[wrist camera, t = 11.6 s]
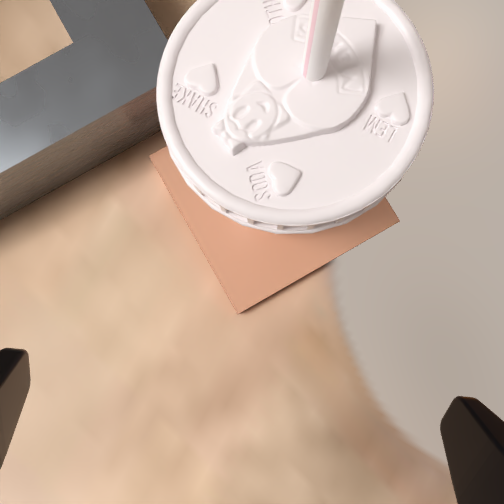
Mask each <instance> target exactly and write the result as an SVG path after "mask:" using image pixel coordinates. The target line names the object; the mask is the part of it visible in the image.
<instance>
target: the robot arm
mask: <svg viewBox="0 0 504 504" xmlns="http://www.w3.org/2000/svg"><path fill="white" fill-rule="evenodd" d="M29 387H30V367H29V356H28V353H27V351H26V350H24V349H14V348H4V349H2V350H0V469H1V467H2V464H3V461H4V459H5V456H6V454H7V451H8V448H9V445H10V442H11V439H12V437H13V434H14V431H15V428H16V425H17V422H18V420H19V417H20V414H21V411H22V408H23V406H24V403H25V400H26V397H27V394H28V391H29ZM440 430H441V435H442V440H443V444H444V448H445V453H446V457H447V461H448V466H449V470H450V474H451V479H452V483H453V487H454V491H455V495H456V499H457V502H458V504H504V421H502V420H501V419H500V418H499V417H498V416H497V415H495V414H494V413H493V412H492V411H491V410H490V409H488V408H487V407H486V406H485V405H484V404H482V403H481V402H480V401H479V400H477V399H475V398H472V397H463V396H458V397H456V398H455V399H454V400H453V401H452V403H451V405H450V407H449V408H448V410H447V411H446V413H445V415H444V417H443V418H442V420H441V425H440Z"/></svg>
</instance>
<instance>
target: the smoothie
mask: <svg viewBox="0 0 504 504" xmlns="http://www.w3.org/2000/svg"><path fill="white" fill-rule="evenodd" d="M433 100H434V86H433V76H432V70H431V65H430V61H429V57H428V54H427V51H426V48H425V46H424V43H423V41H422V39H421V37H420V35H419V33H418V31H417V29H416V27H415V26H414V24H413V23H412V21H411V20H410V18H409V17H408V16H407V14H406V13H405V12H404V11H403V10H402V8H401V7H400V6H399V5H398V4H397V3H396V2H395V1H394V0H197V1H196V2H195V3H194V4H193V5H192V6H191V7H190V8H189V9H188V11H187V12H186V13H185V14H184V15H183V17H182V18H181V20H180V21H179V23H178V24H177V25H176V27H175V29H174V30H173V32H172V34H171V36H170V38H169V40H168V42H167V45H166V47H165V49H164V52H163V55H162V59H161V62H160V66H159V71H158V77H157V87H156V101H157V111H158V117H159V122H160V126H161V130H162V133H163V136H164V139H165V141H166V144H167V146H168V149H169V153H170V156H171V158H172V160H173V162H174V163H175V165H176V167H177V168H178V170H179V172H180V173H181V175H182V177H183V178H184V180H185V182H186V184H187V185H188V186H189V187H190V188H191V189H192V190H193V191H194V192H195V193H196V194H197V195H198V196H199V197H200V198H201V199H202V200H203V201H204V202H205V203H207V204H208V205H209V206H210V207H211V208H212V209H213V210H215V211H217V212H219V213H221V214H222V215H224V216H226V217H228V218H230V219H231V220H233V221H235V222H237V223H239V224H241V225H242V226H246V227H250V228H254V229H258V230H262V231H267V232H271V233H275V234H307V233H315V232H319V231H322V230H326V229H329V228H333V227H336V226H340V225H344V224H347V223H348V222H350V221H352V220H353V219H355V218H357V217H358V216H360V215H362V214H363V213H365V212H367V211H368V210H370V209H372V208H373V207H375V206H377V205H378V204H379V203H380V201H381V200H382V199H383V198H384V197H385V196H386V195H387V194H388V193H389V192H390V191H391V190H392V189H393V188H394V187H395V186H396V185H397V184H398V183H399V182H400V181H401V179H402V177H403V175H404V174H405V173H406V171H407V170H408V169H409V167H410V166H411V165H412V163H413V162H414V160H415V158H416V157H417V155H418V153H419V151H420V149H421V147H422V145H423V143H424V141H425V138H426V135H427V132H428V129H429V124H430V121H431V117H432V109H433Z"/></svg>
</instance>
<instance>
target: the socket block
mask: <svg viewBox="0 0 504 504" xmlns="http://www.w3.org/2000/svg"><path fill="white" fill-rule="evenodd" d="M50 1H51V3H52V5H53V7H54V9H55V10H56V12H57V14H58V16H59V18H60V19H61V21H62V23H63V25H64V27H65V28H66V30H67V32H68V34H69V35H70V37H71V39H72V41H73V43H72V44H71V45H69V46H67V47H65V48H63V49H62V50H60V51H58V52H56V53H54V54H52V55H51V56H49V57H47V58H45V59H43V60H41V61H40V62H38V63H36V64H34V65H32V66H31V67H29V68H27V69H25V70H23V71H21V72H20V73H18V74H16V75H14V76H12V77H11V78H9V79H7V80H5V81H3V82H1V83H0V220H1V219H3V218H4V217H6V216H8V215H10V214H12V213H13V212H15V211H17V210H19V209H20V208H22V207H24V206H26V205H28V204H29V203H31V202H33V201H35V200H37V199H38V198H40V197H42V196H44V195H46V194H47V193H49V192H51V191H53V190H54V189H56V188H58V187H60V186H62V185H63V184H65V183H67V182H69V181H71V180H72V179H74V178H76V177H78V176H80V175H81V174H83V173H85V172H87V171H88V170H90V169H92V168H94V167H96V166H97V165H99V164H101V163H103V162H105V161H106V160H108V159H110V158H112V157H114V156H115V155H117V154H119V153H121V152H123V151H124V150H126V149H128V148H130V147H131V146H133V145H135V144H137V143H139V142H140V141H142V140H144V139H146V138H148V137H149V136H151V135H153V134H155V133H157V132H158V131H160V130H161V126H160V122H159V117H158V111H157V101H156V87H157V77H158V71H159V66H160V62H161V59H162V55H163V52H164V49H165V47H166V45H167V42H168V40H167V38H166V37H165V35H164V33H163V32H162V30H161V28H160V27H159V25H158V23H157V21H156V20H155V18H154V16H153V15H152V13H151V11H150V9H149V8H148V6H147V4H146V3H145V1H144V0H50Z"/></svg>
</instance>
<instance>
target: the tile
mask: <svg viewBox="0 0 504 504" xmlns="http://www.w3.org/2000/svg"><path fill="white" fill-rule="evenodd" d="M149 157H150V159H151V161H152V162H153V164H154V166H155V168H156V169H157V171H158V173H159V175H160V177H161V178H162V180H163V182H164V184H165V186H166V187H167V189H168V191H169V193H170V194H171V196H172V198H173V200H174V202H175V203H176V205H177V207H178V209H179V210H180V212H181V214H182V216H183V218H184V219H185V221H186V223H187V225H188V227H189V228H190V230H191V232H192V234H193V235H194V237H195V239H196V241H197V243H198V244H199V246H200V248H201V250H202V251H203V253H204V255H205V257H206V259H207V260H208V262H209V264H210V266H211V268H212V269H213V271H214V273H215V275H216V276H217V278H218V280H219V282H220V284H221V285H222V287H223V289H224V291H225V292H226V294H227V296H228V298H229V300H230V301H231V303H232V305H233V307H234V309H235V310H236V312H237V314H239V313H241V312H243V311H244V310H246V309H248V308H250V307H251V306H253V305H255V304H257V303H258V302H260V301H262V300H264V299H265V298H267V297H269V296H270V295H272V294H274V293H276V292H277V291H279V290H281V289H283V288H284V287H286V286H288V285H290V284H291V283H293V282H295V281H297V280H298V279H300V278H302V277H304V276H305V275H307V274H309V273H311V272H312V271H314V270H316V269H317V268H319V267H321V266H323V265H324V264H326V263H328V262H330V261H331V260H333V259H335V258H337V257H338V256H340V255H342V254H344V253H345V252H347V251H349V250H351V249H352V248H354V247H356V246H358V245H359V244H361V243H363V242H364V241H366V240H368V239H370V238H371V237H373V236H375V235H377V234H378V233H380V232H382V231H384V230H385V229H387V228H389V227H391V226H392V225H394V224H396V223H398V222H399V219H398V217H397V215H396V214H395V212H394V211H393V209H392V208H391V206H390V204H389V203H388V201H387V199H386V198H385V197H384V198H383V199H382V200H381V201H380V203H379V204H378V205H377V206H375V207H373V208H372V209H370V210H368V211H367V212H365V213H363V214H362V215H360V216H358V217H357V218H355V219H353V220H352V221H350V222H348V223H347V224H344V225H340V226H336V227H333V228H329V229H326V230H322V231H319V232H315V233H307V234H275V233H271V232H267V231H262V230H258V229H254V228H250V227H246V226H242V225H241V224H239V223H237V222H235V221H233V220H231V219H230V218H228V217H226V216H224V215H222V214H221V213H219V212H217V211H215V210H213V209H212V208H211V207H210V206H209V205H208V204H207V203H205V202H204V201H203V200H202V199H201V198H200V197H199V196H198V195H197V194H196V193H195V192H194V191H193V190H192V189H191V188H190V187H189V186H188V185H187V184H186V182H185V180H184V178H183V177H182V175H181V173H180V172H179V170H178V168H177V167H176V165H175V163H174V162H173V160H172V158H171V156H170V153H169V149H168V146H166V147H164V148H162V149H160V150H158V151H157V152H155V153H153V154H151V155H150V156H149Z"/></svg>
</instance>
